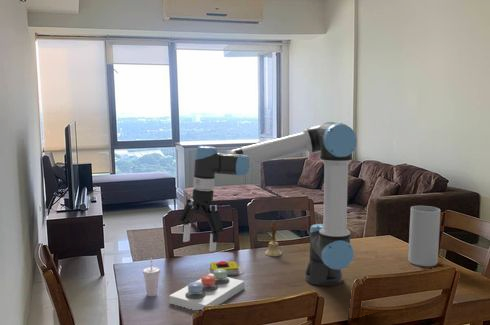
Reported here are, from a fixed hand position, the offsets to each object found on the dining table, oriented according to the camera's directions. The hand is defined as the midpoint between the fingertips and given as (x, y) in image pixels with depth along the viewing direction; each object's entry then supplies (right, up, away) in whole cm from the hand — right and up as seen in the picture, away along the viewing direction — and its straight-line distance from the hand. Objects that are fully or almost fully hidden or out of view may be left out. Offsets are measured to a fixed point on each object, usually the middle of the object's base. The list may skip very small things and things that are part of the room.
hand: (199, 245), depth 174 cm
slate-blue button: (-1, -16, -3) cm, 16 cm away
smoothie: (-18, -20, +6) cm, 27 cm away
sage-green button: (+7, -14, +11) cm, 19 cm away
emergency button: (+8, -17, +31) cm, 36 cm away
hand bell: (+31, -14, +54) cm, 64 cm away
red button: (+3, -15, +4) cm, 16 cm away
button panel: (+3, -20, +5) cm, 20 cm away
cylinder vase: (+98, -15, +42) cm, 108 cm away
